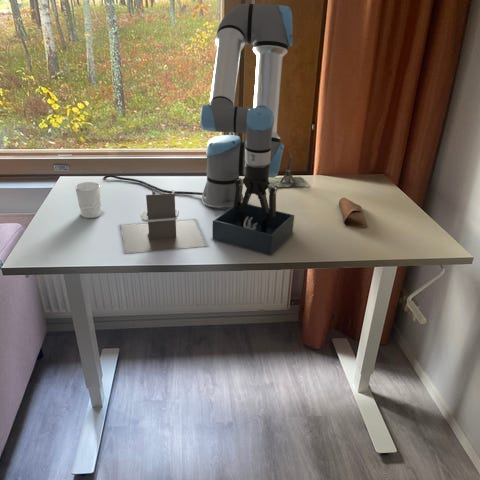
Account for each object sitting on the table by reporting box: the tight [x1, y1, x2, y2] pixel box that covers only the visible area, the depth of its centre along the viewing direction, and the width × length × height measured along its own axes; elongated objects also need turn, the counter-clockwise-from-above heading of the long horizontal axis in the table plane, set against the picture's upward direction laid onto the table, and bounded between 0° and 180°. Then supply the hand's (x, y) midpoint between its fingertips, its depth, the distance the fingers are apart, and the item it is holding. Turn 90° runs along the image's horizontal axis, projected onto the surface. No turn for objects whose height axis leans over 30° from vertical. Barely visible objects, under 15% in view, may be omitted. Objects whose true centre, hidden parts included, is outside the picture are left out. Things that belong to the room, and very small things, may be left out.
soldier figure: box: [243, 217, 258, 230], centre depth 163 cm, size 8×5×12 cm
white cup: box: [74, 181, 102, 219], centre depth 171 cm, size 8×8×10 cm
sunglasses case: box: [338, 197, 367, 228], centre depth 180 cm, size 18×7×7 cm, turn 178°
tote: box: [212, 203, 295, 256], centre depth 163 cm, size 21×18×7 cm
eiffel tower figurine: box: [268, 150, 310, 188], centre depth 202 cm, size 15×10×13 cm
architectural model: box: [120, 189, 207, 254], centre depth 159 cm, size 20×25×15 cm
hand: (253, 233), depth 165 cm, fingers closed on soldier figure, 6 cm apart
